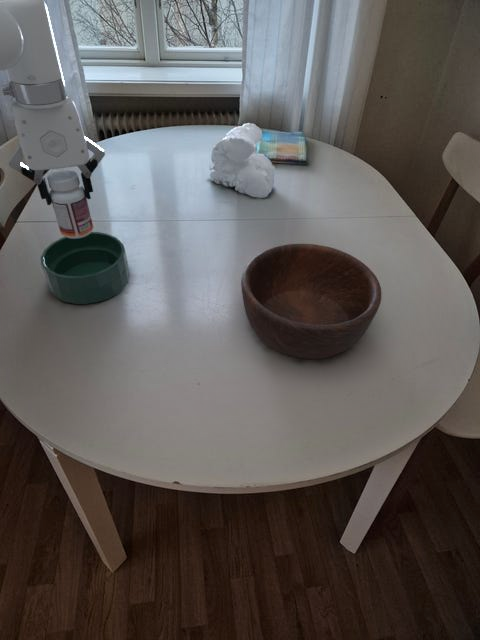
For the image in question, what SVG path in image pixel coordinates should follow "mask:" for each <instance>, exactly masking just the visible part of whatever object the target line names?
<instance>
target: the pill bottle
mask: <svg viewBox="0 0 480 640" xmlns="http://www.w3.org/2000/svg"><path fill="white" fill-rule="evenodd" d="M46 179H47V181H48V182H47V184H48V186H49V187H48V188H50V191H49V193H50V199H51V203H52V204H51V206H52V209H53V212H54V215H55V218H56V221H57V226H58V228H59V232H60V234H61V235H62V236H63V237H67V238H72V239H77V238H82V237H85V236H87V235H89V234H90V233H91V232H94V223H93V218H92V215H91V211H90V206H89V202H88V199H87V197H86V193H85V190H84V186H82V185H81V182H80V178H79V175H78V172H77V171H75V170H72V169H68V168H67V169H66V168H64V169H56V170H55V171H52V172H50V173H48V174H47V178H46Z"/></svg>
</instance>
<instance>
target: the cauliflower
mask: <svg viewBox="0 0 480 640" xmlns="http://www.w3.org/2000/svg"><path fill="white" fill-rule="evenodd" d="M261 139H262V129H261V128H260V127H259V126H257V125H256V124H255V123H253V122H252V123H250V122H248V123H246V122H245V123H243V124H242V126H241V125H240V126H235V127H233V128H232V129H231V130H229V131H228V132H227V133H226V134H225V136H224V137H223V139H220V140H219V141H217V142H216V143H215V144H214V146H213V147H212V151H211V156H210V157H211V162H212V164H213V166H212V165H209V170H210V173H209V181H211V182H214V184H217V185H222V186H224V187H227V188H229V187H231V188H232V187H234V190H235V191H236V192H238V193H240V194H246V195H248V196H249V197H252V198H261V199H265V198H267V197H268V196H269V194H271V192H272V191H273V186H274V183H275V170H276V166H273V162H271V161H270V160H269V159H268V158H266V157H265V156H264V154H259V153H257V152H255V151H256V149H255V148H257V144H258V143H259V142H260V141H261Z"/></svg>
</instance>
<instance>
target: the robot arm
mask: <svg viewBox="0 0 480 640" xmlns="http://www.w3.org/2000/svg"><path fill="white" fill-rule="evenodd" d="M50 18H51V17H50V14H49V11H48V5H47V3H46V1H45V0H0V72H1V71H6V72H7V75H8V78H9V81H8V83H6V84H5V85H4V84H3V85H0V86H1V90H2V93H3V95H4V96H9V97H12V98H13V99H14V101H13V102H12V104H11V105H12V107H11V108H12V116H13V121H14V126H15V129H16V134H17V138H18V142H19V145H18V146H17V147H16V148H15V150H14V152H13V153H12V155H11V156H10V158H9V159H8V166H9V167H10V168H12V169H13V170H15V171H17V172H18V173H20V174H21V175H22V176H23V177H26V178H27V179H29V180H31V181H32V182H33V183H34V184H35V185H37V189H38V192H39V196H40V198H41V200H45V203H46V205H47V206H52V202H51V199H50V191H49V190H50V189H49V187H48V182H47V180H46V178H45V177H44V171H50V170H60V169H66V168H67V169H68V168H74V167H78V169H79V170H80V172H81V173H80V176H81V181H82V185H83V186H82V187H83V188H84V190H85V193H86V198H87V200H91V199H92V197H91V193H94V188H93V185H92V180H91V177H92V174H93V173H94V171H95V170H96V169H97V167H98V166H99V163H101V162H102V160H103V158H104V157H105V156H106V153H105V150H104V149H103V148H102V147H100V146H99V145H98V144H96V143H95V142H93V140H91V139H89V138H88V137H86V135H85V132H84V127H83V123H82V120H81V116H80V114H79V112H78V108H77V106H76V104H75V101H74V99H73V98H72V97H71V96H70V95H68V94H67V89H66V84H65V80H64V76H63V71H62V67H61V63H60V62H61V61H60V58H59V54H58V49H57V45H56V40H55V36H54V32H53V28H52V23H51V19H50ZM89 151H90V152H91V153H93V154H92V156H91V157H90V153H89ZM22 160H24V162H25V164H24V163H23V162H21V161H22Z"/></svg>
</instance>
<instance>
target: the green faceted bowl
mask: <svg viewBox="0 0 480 640" xmlns="http://www.w3.org/2000/svg"><path fill="white" fill-rule="evenodd" d="M40 265H41V268H42V271H43V274H44V277H45V279H46V282H47V285H48V288H49V290H50V292H51V293H52V294H53V296H54V297H55V298H57V299H59V300H61V301H63V302H65V303H70V304H74V305H85V304H86V305H87V304H88V305H89V304H93V303H99V302H103V301H105V300H107V299H109V298H112V297H114V296H116V295H117V294H119V293H120V292H121V291H123V289H124V288H125V287H126V285H128V283H129V280H130V268H129V264H128V258H127V252H126V248H125V245H124V243H123V242H122V241H121V240H120V239H119V238H118V237H116V236H115V235H111V234H110V233H104V232H101V231H100V232H99V231H92V232H91V233H90V234H89V235H87V236H85V237H82V238H77V239H72V238H67V237H65V236H63V237H61V238H59V239H57V240H55V241H53V242H52V243H50V244H49V245H48V246H47V247H46V248H44V250H43V252H42V254H41V256H40Z"/></svg>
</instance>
